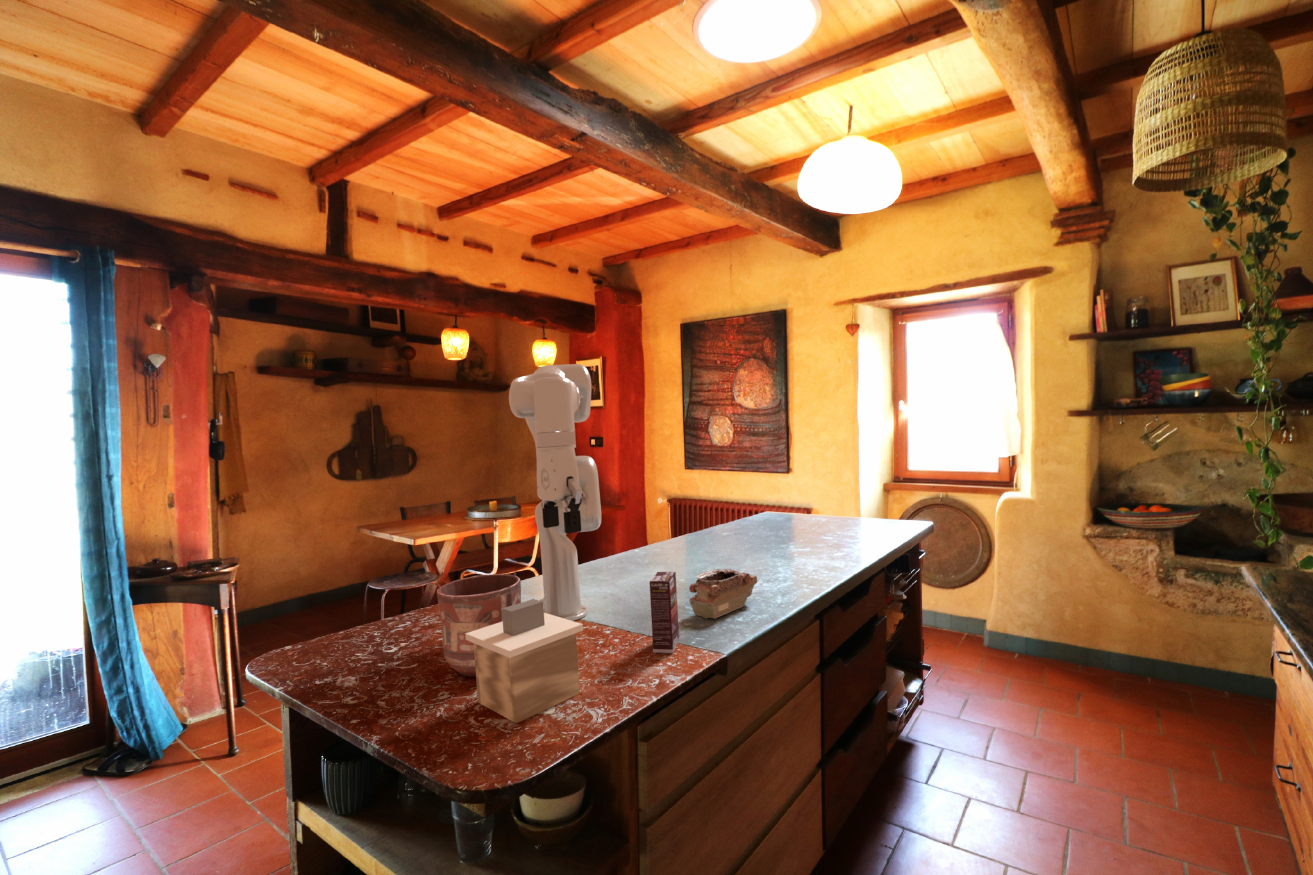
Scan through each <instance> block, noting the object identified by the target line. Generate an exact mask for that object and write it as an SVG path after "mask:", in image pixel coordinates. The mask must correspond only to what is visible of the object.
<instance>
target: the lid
mask: <svg viewBox="0 0 1313 875" xmlns="http://www.w3.org/2000/svg"><path fill="white" fill-rule="evenodd" d="M502 619H503V621H502V622H499V623H496V624H493V625H490V626H487V627H484V628H481V629H478V630H475V631H471V632H468V633H465V636H466V640H467V641H470V642H472V643H475V644H477V645H480V646H482V647H484V648H487V649H489V650H492V651H494V652H496V653H499V654H501V655H504V656H506V657H509V658H511V657H514V656H517V655H519V654H522V653H525V652H527V651H530V650H533V649H535V648H538V647H540V646H543V645H546V644H548V643H551V642H554V641H556V640H559V639H562V638H564V637H567V636H570V635H572V634H575V633H576V634H577V633H581V632H583V631H584V624H583V623H581V622H577V621H575V620H574V621H571V620H567V619H564V618H561V617H557V616H554V615H550V614H547V613H544V605H543V601H540V599H535V598H532V599H529V600H528V599H527V600H526V601H521V603H519V604H515V605H512V606H509V607H505V608H502Z"/></svg>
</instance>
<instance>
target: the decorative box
mask: <svg viewBox="0 0 1313 875" xmlns="http://www.w3.org/2000/svg"><path fill="white" fill-rule="evenodd" d="M696 577H697V579H696V580H695V583H691V584H690V585H689V592H690V593H695V595H694V596H692V597H690V598H689V599H688V600H689V604H690V606H691V609H692V612H693V615H694V616H699V617H703V618H704V619H708V618H710V619H717V618H719V617H721V616H725V615H727V614H730V613H731V612H734V611H735V610H738V609H740V608H743V607H745V604H746V602H747V600H748V598H749V597H751V596H752V592H753V589H754V587H755V585H756V584H757V583H758V577H757V575H754V574H750V573H748V572H747V573H746V572H739V571H737V570H735V569H727V568H717V569H711V570H710V569H709V570H706V571H705V572H701V573H699V574H697V576H696Z"/></svg>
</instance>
